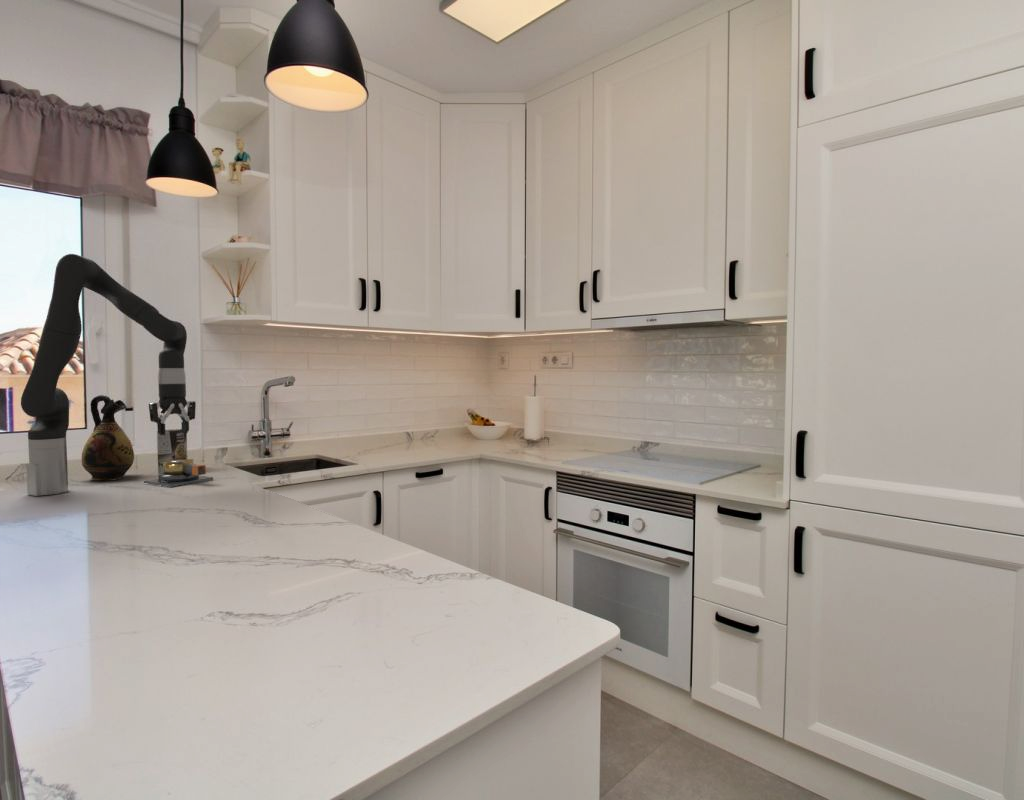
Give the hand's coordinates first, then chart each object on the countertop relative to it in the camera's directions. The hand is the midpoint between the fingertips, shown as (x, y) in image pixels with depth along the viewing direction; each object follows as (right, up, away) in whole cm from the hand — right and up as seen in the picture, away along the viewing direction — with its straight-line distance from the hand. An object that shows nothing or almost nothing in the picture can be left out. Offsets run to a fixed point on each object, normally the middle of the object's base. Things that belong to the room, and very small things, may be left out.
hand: (173, 434), depth 182 cm
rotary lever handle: (-2, -14, +10) cm, 18 cm away
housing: (-6, -17, +13) cm, 22 cm away
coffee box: (-21, -17, +35) cm, 44 cm away
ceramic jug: (-36, -17, +20) cm, 45 cm away
